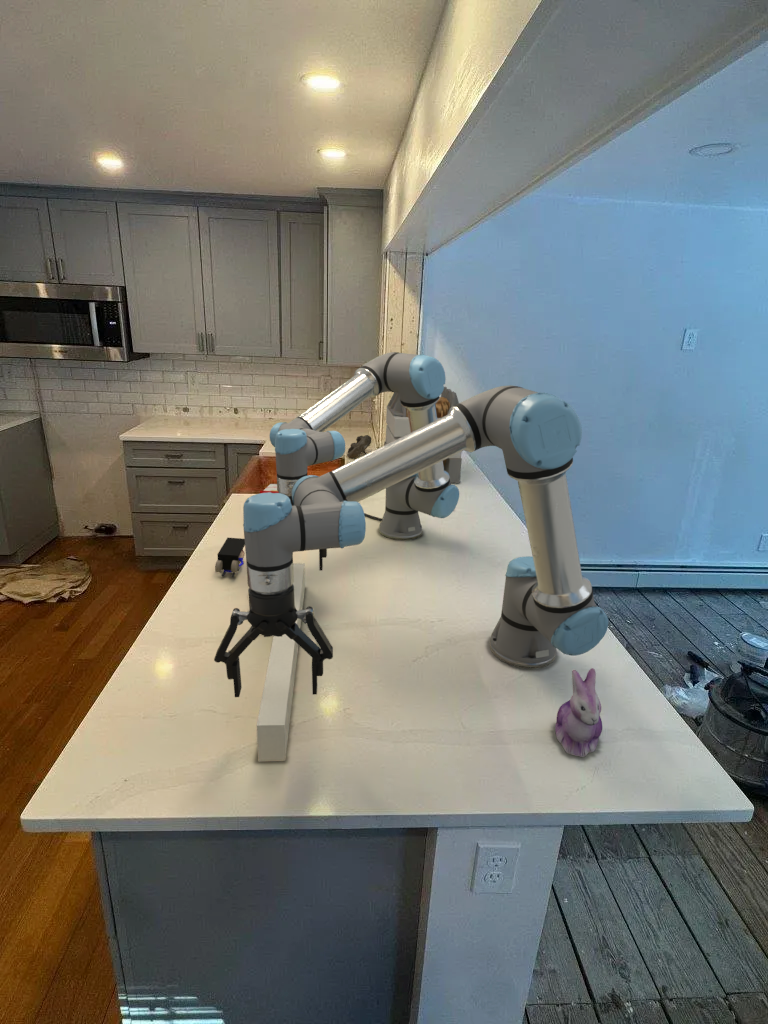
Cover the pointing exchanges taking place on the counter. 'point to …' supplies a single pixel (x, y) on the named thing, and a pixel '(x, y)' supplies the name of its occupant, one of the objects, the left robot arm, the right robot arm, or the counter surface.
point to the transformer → (401, 427)
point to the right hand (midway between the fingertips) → (276, 691)
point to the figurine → (580, 717)
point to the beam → (279, 686)
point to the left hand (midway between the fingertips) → (295, 568)
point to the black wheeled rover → (230, 556)
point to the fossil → (359, 446)
